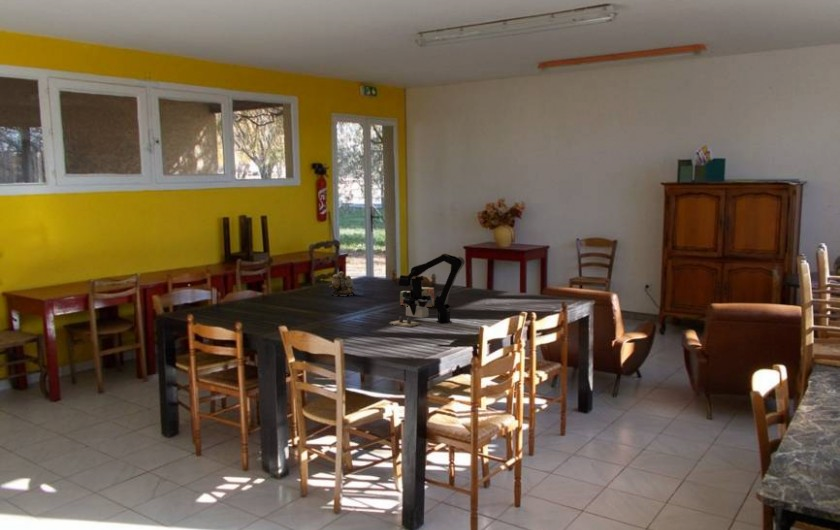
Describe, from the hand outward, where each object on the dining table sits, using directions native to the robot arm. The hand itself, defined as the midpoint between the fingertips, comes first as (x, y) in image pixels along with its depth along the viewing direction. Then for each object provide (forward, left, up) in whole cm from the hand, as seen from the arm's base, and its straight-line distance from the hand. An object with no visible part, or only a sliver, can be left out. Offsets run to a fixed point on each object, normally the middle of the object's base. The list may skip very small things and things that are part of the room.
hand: (417, 314), depth 411 cm
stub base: (-1, +12, -4) cm, 13 cm away
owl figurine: (+99, -35, -4) cm, 105 cm away
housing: (0, 0, -1) cm, 1 cm away
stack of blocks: (+30, -36, -4) cm, 47 cm away
